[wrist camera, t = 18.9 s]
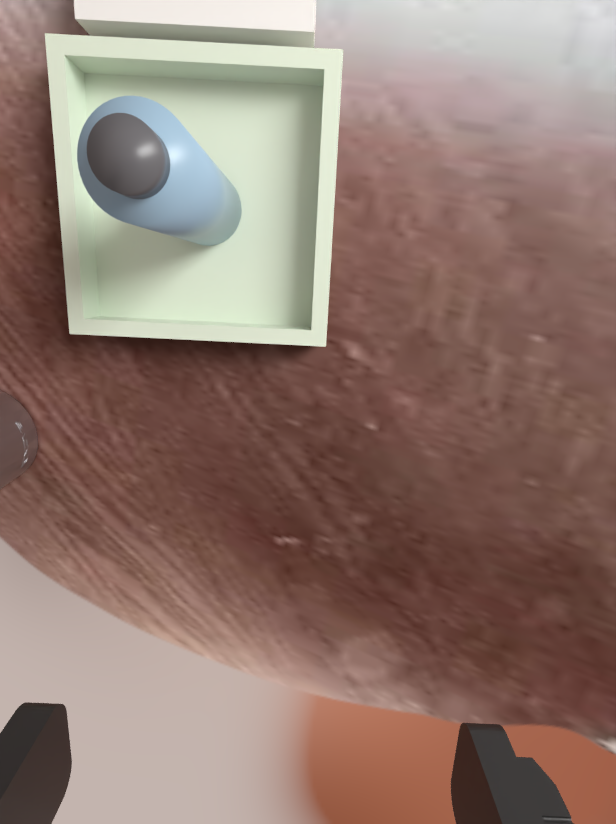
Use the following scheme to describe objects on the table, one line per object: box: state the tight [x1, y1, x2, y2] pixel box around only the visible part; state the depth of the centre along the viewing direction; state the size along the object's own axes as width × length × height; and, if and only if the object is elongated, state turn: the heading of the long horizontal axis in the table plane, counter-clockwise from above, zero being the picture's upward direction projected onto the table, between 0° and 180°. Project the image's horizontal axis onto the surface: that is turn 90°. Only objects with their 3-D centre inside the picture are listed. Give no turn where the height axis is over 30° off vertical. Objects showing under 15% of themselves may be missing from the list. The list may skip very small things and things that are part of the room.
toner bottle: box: [77, 96, 242, 246], centre depth 30 cm, size 6×6×18 cm
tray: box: [45, 33, 343, 347], centre depth 37 cm, size 20×20×4 cm
